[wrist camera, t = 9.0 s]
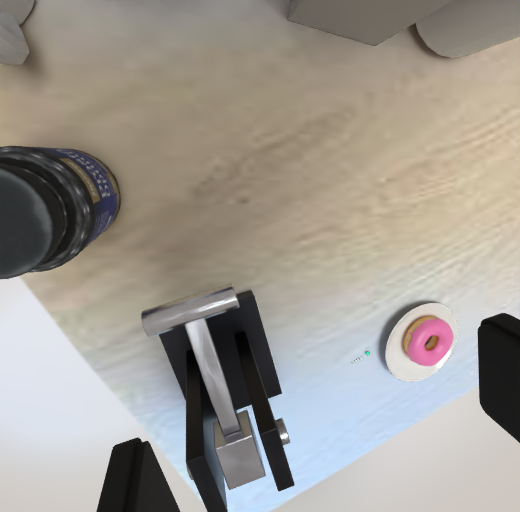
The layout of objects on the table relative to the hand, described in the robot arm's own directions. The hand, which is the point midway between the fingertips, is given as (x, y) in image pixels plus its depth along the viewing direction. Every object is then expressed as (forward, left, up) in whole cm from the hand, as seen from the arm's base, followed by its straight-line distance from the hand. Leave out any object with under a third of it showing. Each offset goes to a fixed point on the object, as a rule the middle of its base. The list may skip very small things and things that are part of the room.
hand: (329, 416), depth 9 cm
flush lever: (+5, -4, -11) cm, 13 cm away
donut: (+15, +13, -19) cm, 28 cm away
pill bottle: (-7, -10, -19) cm, 23 cm away
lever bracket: (+9, -4, -19) cm, 22 cm away
